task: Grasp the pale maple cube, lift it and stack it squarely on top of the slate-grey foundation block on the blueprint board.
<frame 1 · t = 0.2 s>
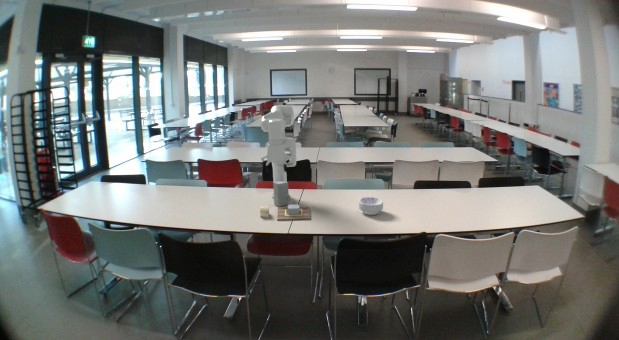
hand: (276, 171, 202), 30 cm above the table, tool pointing down, fingers open, 9 cm apart
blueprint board: (293, 213, 220), on the table
maple cube: (264, 215, 218), on the table
paper bowls: (370, 212, 222), on the table
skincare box: (281, 204, 237), on the table
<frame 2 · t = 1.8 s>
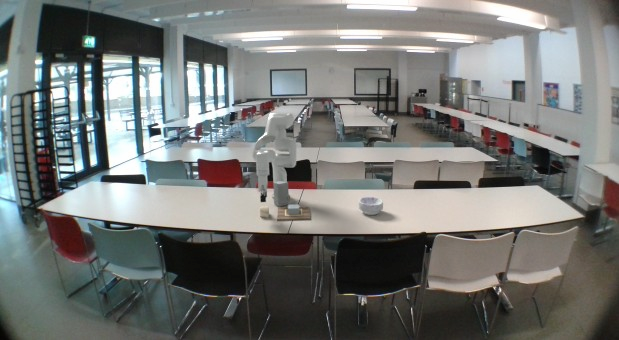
hand: (263, 199, 215), 11 cm above the table, tool pointing down, fingers open, 9 cm apart
nothing on the table moved.
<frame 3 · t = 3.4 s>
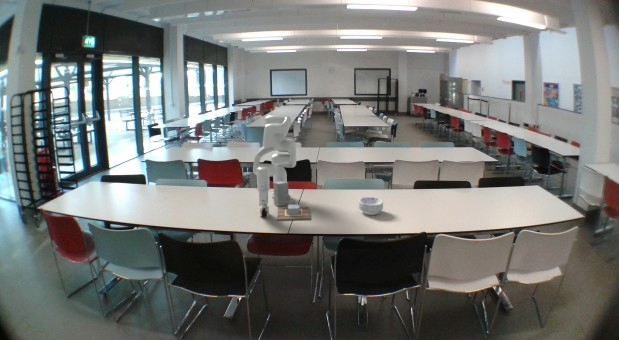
hand: (264, 214, 218), 0 cm above the table, tool pointing down, fingers closed on maple cube, 5 cm apart
maple cube: (264, 215, 218), on the table, touching gripper
everything else where it was.
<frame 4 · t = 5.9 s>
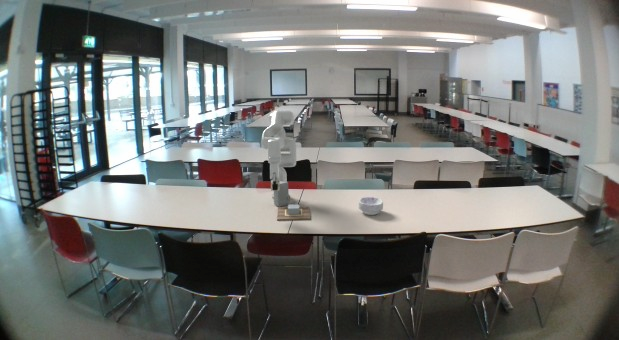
hand: (275, 188, 214), 17 cm above the table, tool pointing down, fingers closed on maple cube, 4 cm apart
maple cube: (275, 189, 215), point 17 cm above the table, touching gripper
everything else where it was.
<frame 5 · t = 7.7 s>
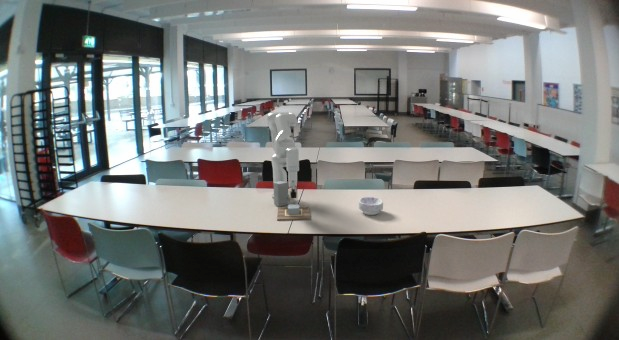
hand: (293, 196, 217), 12 cm above the table, tool pointing down, fingers closed on maple cube, 4 cm apart
maple cube: (293, 197, 217), point 11 cm above the table, touching gripper
everything else where it was.
when the fingers open (7 cm above the table, at t = 8.9 s): maple cube drops 1 cm, resting on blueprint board.
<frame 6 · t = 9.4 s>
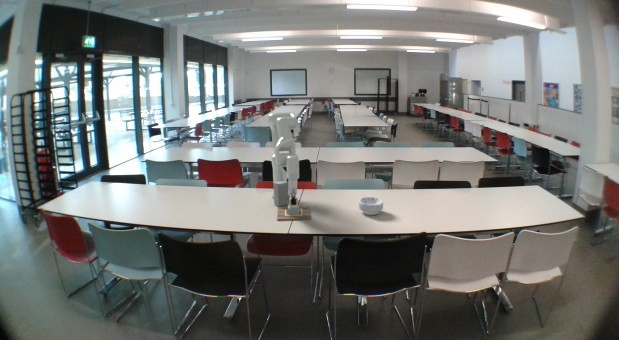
hand: (293, 202, 218), 8 cm above the table, tool pointing down, fingers open, 9 cm apart
maple cube: (293, 206, 219), point 5 cm above the table, touching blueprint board
everything else where it was.
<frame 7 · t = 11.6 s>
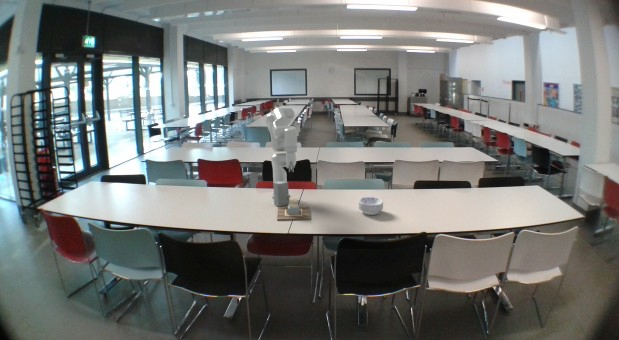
hand: (291, 176, 215), 24 cm above the table, tool pointing down, fingers open, 9 cm apart
nothing on the table moved.
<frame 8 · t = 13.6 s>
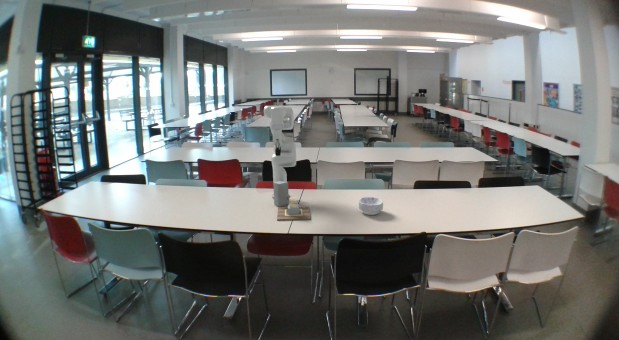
hand: (278, 154, 221), 36 cm above the table, tool pointing down, fingers open, 9 cm apart
nothing on the table moved.
at the end: maple cube 0.1 cm off-centre on the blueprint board, point 5.0 cm above the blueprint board's base; maple cube tilted 0°; the gripper is holding nothing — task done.
